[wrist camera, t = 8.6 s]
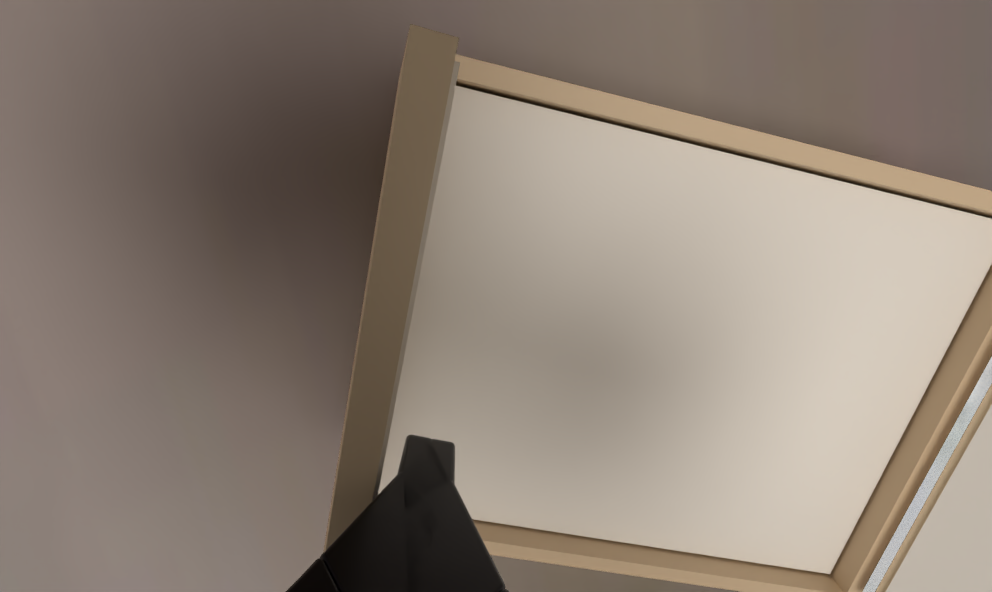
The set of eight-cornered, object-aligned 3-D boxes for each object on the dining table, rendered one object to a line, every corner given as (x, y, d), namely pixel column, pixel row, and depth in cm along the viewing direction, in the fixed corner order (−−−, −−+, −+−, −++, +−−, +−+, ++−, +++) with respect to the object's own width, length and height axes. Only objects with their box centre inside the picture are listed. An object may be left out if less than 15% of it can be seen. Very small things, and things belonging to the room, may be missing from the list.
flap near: (317, 815, 9) (282, 819, 9) (348, 523, 15) (328, 522, 15) (466, 41, 5) (410, 24, 5) (425, 82, 12) (399, 75, 11)
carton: (759, 492, 23) (853, 607, 18) (366, 425, 21) (327, 530, 16) (895, 186, 19) (1073, 207, 14) (428, 70, 17) (407, 36, 12)
